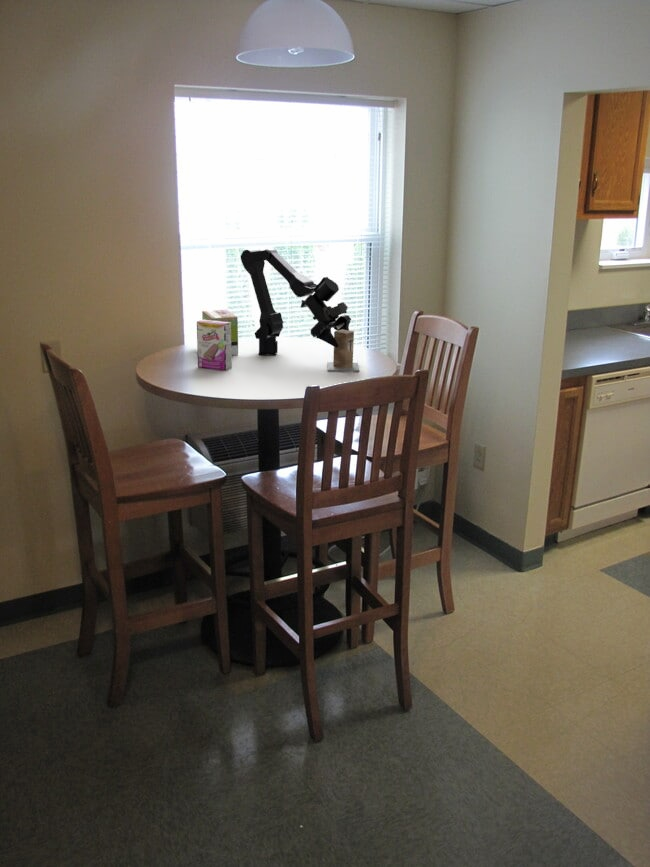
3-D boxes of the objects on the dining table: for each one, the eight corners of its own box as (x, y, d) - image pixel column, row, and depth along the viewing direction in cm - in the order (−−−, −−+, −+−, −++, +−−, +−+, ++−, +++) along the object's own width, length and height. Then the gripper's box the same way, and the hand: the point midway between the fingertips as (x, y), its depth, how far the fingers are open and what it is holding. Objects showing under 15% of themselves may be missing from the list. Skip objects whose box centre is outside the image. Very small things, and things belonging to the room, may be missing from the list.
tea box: (202, 348, 295) (201, 310, 290) (227, 346, 298) (227, 308, 294) (213, 357, 282) (212, 317, 277) (239, 355, 286) (238, 315, 281)
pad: (327, 371, 266) (327, 369, 266) (327, 363, 276) (327, 362, 276) (359, 372, 266) (359, 370, 266) (357, 364, 276) (357, 362, 276)
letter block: (333, 366, 270) (334, 331, 266) (340, 363, 274) (341, 329, 270) (346, 368, 267) (347, 333, 263) (353, 366, 271) (355, 331, 267)
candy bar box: (197, 368, 266) (195, 321, 261) (203, 364, 270) (202, 318, 265) (226, 371, 263) (225, 324, 257) (232, 368, 267) (231, 321, 262)
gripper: (318, 298, 258) (344, 335, 256) (347, 292, 273) (372, 326, 271) (299, 318, 264) (324, 354, 262) (328, 311, 279) (353, 345, 277)
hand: (344, 344), depth 268 cm, fingers open, 9 cm apart
